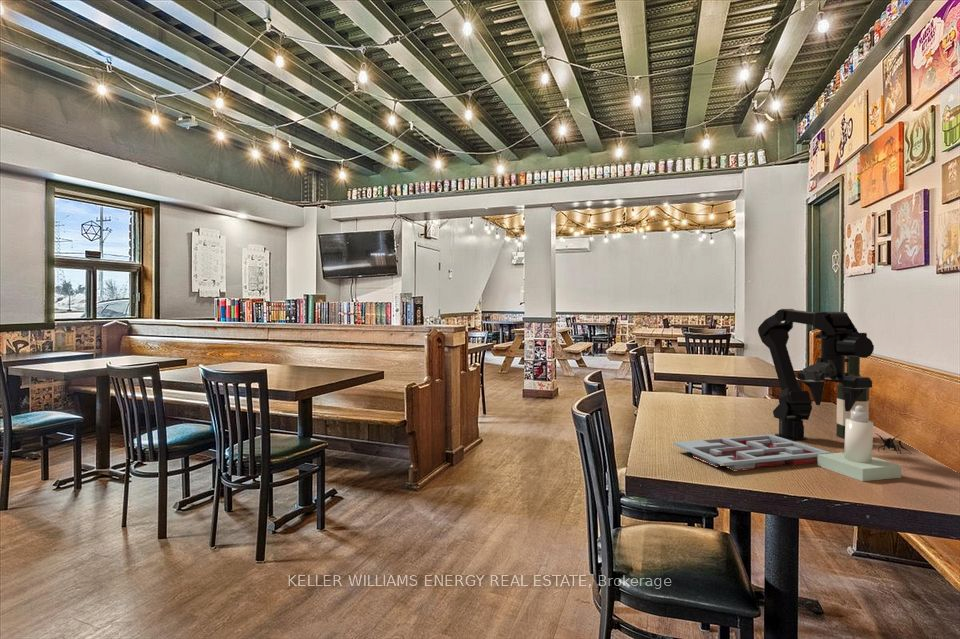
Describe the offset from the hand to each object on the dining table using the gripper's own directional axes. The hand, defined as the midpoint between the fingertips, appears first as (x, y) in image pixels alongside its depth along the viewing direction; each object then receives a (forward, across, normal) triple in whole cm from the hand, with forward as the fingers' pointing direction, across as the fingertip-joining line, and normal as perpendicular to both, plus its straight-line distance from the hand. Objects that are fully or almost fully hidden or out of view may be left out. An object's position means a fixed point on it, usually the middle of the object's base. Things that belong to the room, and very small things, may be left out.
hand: (832, 408), depth 139 cm
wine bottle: (+13, -12, +22) cm, 28 cm away
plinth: (+13, +15, -9) cm, 22 cm away
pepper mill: (+10, +15, -9) cm, 20 cm away
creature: (+13, +4, +18) cm, 22 cm away
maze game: (+14, -2, -27) cm, 30 cm away
